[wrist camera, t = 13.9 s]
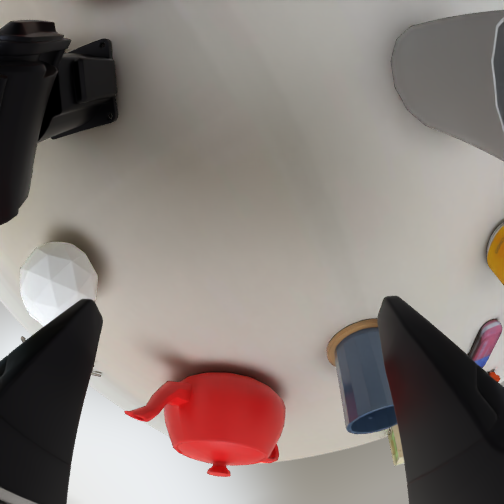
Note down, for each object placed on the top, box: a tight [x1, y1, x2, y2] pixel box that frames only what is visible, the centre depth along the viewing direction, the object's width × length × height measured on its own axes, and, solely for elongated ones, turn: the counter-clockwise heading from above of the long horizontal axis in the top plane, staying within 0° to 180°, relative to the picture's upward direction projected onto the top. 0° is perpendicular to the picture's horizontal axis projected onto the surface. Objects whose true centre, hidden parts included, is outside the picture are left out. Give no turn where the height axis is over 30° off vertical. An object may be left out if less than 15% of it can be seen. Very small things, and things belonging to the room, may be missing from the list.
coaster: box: [327, 319, 378, 367], centre depth 28 cm, size 8×8×1 cm
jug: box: [334, 327, 397, 434], centre depth 25 cm, size 9×7×9 cm
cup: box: [391, 10, 504, 161], centre depth 9 cm, size 8×8×10 cm
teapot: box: [125, 372, 286, 477], centre depth 29 cm, size 25×16×12 cm, turn 38°
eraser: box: [469, 319, 502, 368], centre depth 29 cm, size 11×4×2 cm, turn 15°
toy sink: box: [388, 424, 404, 466], centre depth 42 cm, size 9×7×13 cm
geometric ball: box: [20, 242, 98, 326], centre depth 20 cm, size 8×8×8 cm
